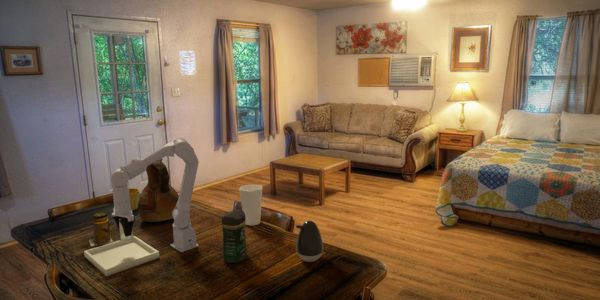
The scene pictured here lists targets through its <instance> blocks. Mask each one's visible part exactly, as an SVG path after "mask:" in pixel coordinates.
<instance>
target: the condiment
mask: <svg viewBox="0 0 600 300" xmlns="http://www.w3.org/2000/svg"><path fill="white" fill-rule="evenodd" d="M92 219H93V221H92V227H93V233H94V235H93V236H94V238H91V239H88V243H89V245H90V247H96V246H99V245H106V244H109V243H112V242H114V240H113V239H112V237H111V236H112V235H111V230H110V222H109V218H108V213H107V212H97V213H95V214H93V218H92ZM95 243H97V244H95ZM98 244H99V245H98Z"/></svg>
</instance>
